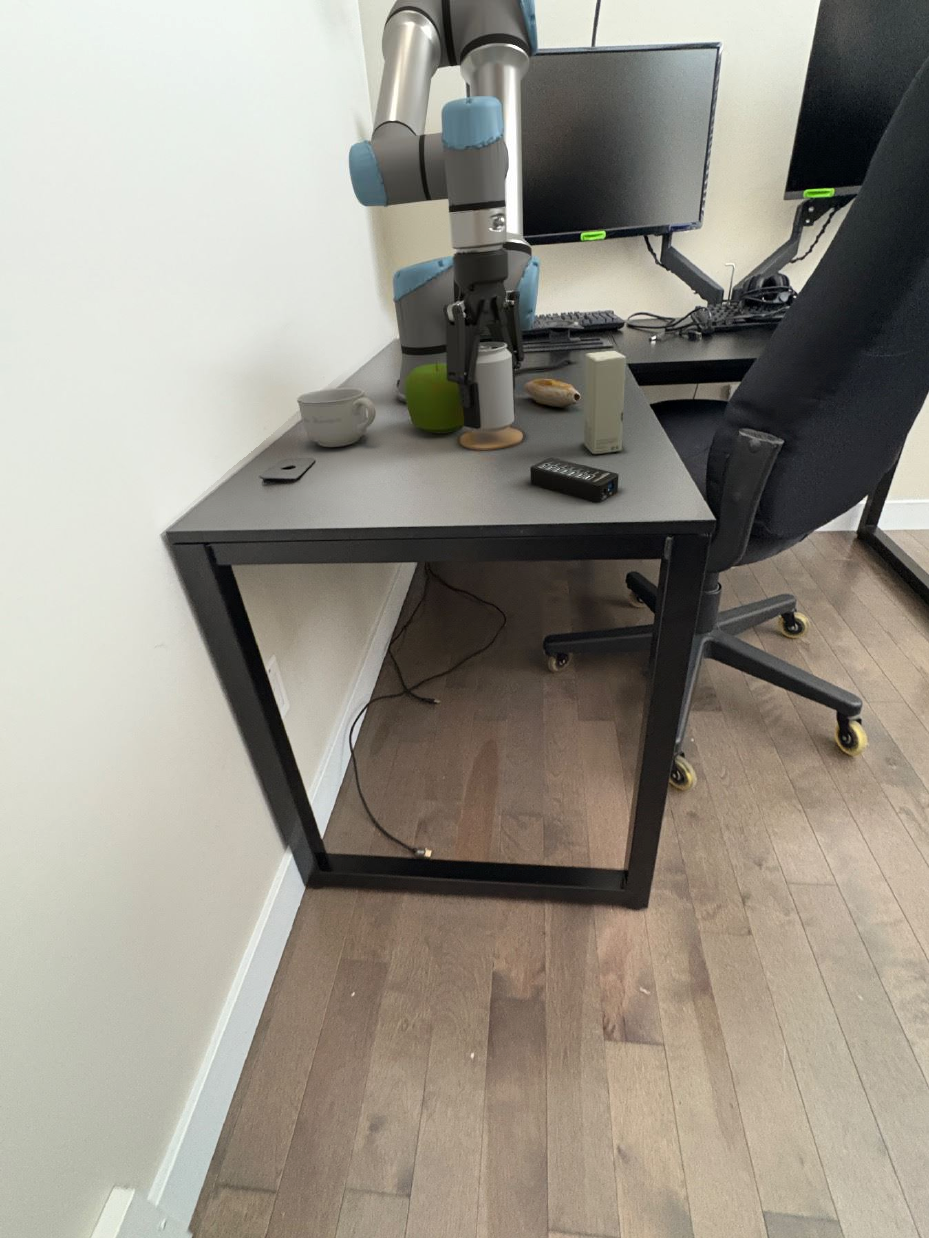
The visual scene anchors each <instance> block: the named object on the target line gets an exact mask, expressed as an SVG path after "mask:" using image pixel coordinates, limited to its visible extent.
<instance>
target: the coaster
mask: <svg viewBox="0 0 929 1238" xmlns="http://www.w3.org/2000/svg"><path fill="white" fill-rule="evenodd" d="M523 435H524V434H523V432H522V431H521V430H520V429H517V428H515V427H510V426H509V427H508V428H507V429H505V430H502V431H498V432H490V433H482V432H477V431H474V430H473V429H472V430H470V431H467V432H465V433H463V434H462V435H461V436H460V438H459V443H460V445H461V446H462V447H464V448H467V449H470V450H476V451H494V450H502V449H506V448H509V447H512V446H515V445H517V444H519V443H520V442H521V441H523V438H524V436H523Z"/></svg>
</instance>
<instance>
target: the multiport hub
mask: <svg viewBox="0 0 929 1238" xmlns="http://www.w3.org/2000/svg"><path fill="white" fill-rule="evenodd" d="M529 470H530V472H529V473H530V484H531V485H532V486H536V487H540V488H544V489H546V490H551V491H553V492H556V493H557V492H558V493H561V494H563V495H564V494H565V495H568V496H570V497H571V496H572V497H574V498H579V499H583V500H586V501H589V502H593V503H601V502H603V501H605V500H607V499H609V498H610V497H612V496H613V495H615V494H617V493H618V491H619V479H620V477H619V476H620V474H619V473H617V472H613V471H609V470H605V469H601V468H596V467H592V466H588V465H584V464H579V463H575V462H571V461H568V460H564V459H563V460H562V459H559V458H554V457H548V458H546V459H544V460H542V461H540V462H538V463H535V464H533V465H531V466H530V467H529Z"/></svg>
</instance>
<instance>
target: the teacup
mask: <svg viewBox="0 0 929 1238" xmlns="http://www.w3.org/2000/svg"><path fill="white" fill-rule="evenodd" d="M296 402H297V404H298V407H299V413H300V417H301V421H302V425H303V429H304V431H305V434H306V435H307V437H308V438H309V439H310V440H312V441H313V442H315V443H317V444H318V446H321V447H325V448H337V447H345V446H348V445H352V444H355V443H357V442H358V441H359V440H360V439H361V437H362V436H364V434H365V433H366V431H367V429H368V427H370V426H371V425H372V424H373V423H374V421H375V419H376V416H377V415H376V414H377V411H376V410H377V409H376V407H375V404H374V403H373V402H372V400H371V399H369V398H368V397H365V391H364V390H363V389H361V388H356V387H337V388H327V389H321V390H315V391H310V392H306V393H304V394H302V395H300V396H298V397H297V398H296Z"/></svg>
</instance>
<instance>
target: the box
mask: <svg viewBox="0 0 929 1238" xmlns="http://www.w3.org/2000/svg"><path fill="white" fill-rule="evenodd" d="M584 359H585V360H584V361H585V364H584V428H583V429H584V430H583V432H584V436H583V437H584V438H583V444H584V446H585V447H586V449H587V450H588V451H589V452H590V453H591V454H593V455H601V454H602V455H603V454H609V453H615V452H616V453H617V452H620V451H622V447H623V446H622V443H623V422H624V406H625V405H624V402H625V401H624V400H625V385H626V384H625V383H626V382H625V381H626V366H627V365H626V363H627V357H626V356H625V355H624V354H622V353H620V352H618V351H616V350H607V351H597V352H590V353H589V352H588V353H586V354H585V358H584Z"/></svg>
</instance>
